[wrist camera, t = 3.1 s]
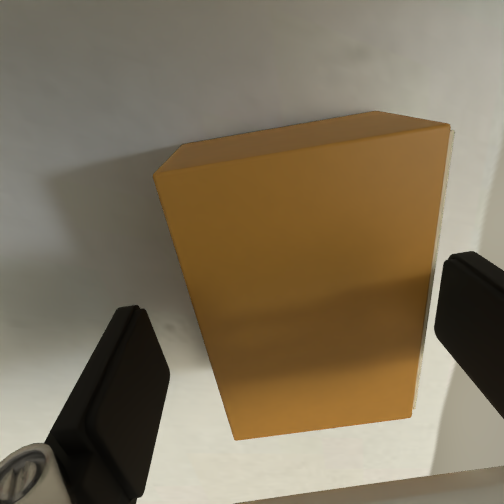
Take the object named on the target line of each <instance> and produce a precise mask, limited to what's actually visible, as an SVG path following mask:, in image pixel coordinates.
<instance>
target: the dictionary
mask: <svg viewBox="0 0 504 504" xmlns="http://www.w3.org/2000/svg"><path fill="white" fill-rule="evenodd" d="M450 128H451V127H450V124H447V123H442V122H437V121H431V120H425V119H420V118H414V117H408V116H403V115H397V114H391V113H386V112H380V111H372V112H367V113H361V114H355V115H349V116H343V117H338V118H332V119H326V120H320V121H314V122H309V123H303V124H297V125H291V126H285V127H280V128H274V129H268V130H262V131H256V132H251V133H245V134H239V135H233V136H227V137H222V138H216V139H210V140H204V141H199V142H193V143H187V144H183V145H181V146H180V147H179V148H178V149H177V150H176V151H175V152H174V153H173V154H172V155H171V156H170V157H169V158H168V160H167V161H166V162H165V163H164V164H163V165H162V166H161V167H160V168H159V169H158V170H157V171H156V172H155V173H154V174H153V180H154V183H155V186H156V189H157V192H158V196H159V199H160V202H161V205H162V209H163V212H164V215H165V218H166V221H167V225H168V228H169V231H170V234H171V237H172V241H173V244H174V247H175V250H176V254H177V257H178V260H179V263H180V266H181V270H182V273H183V276H184V279H185V282H186V286H187V289H188V292H189V295H190V299H191V302H192V305H193V308H194V311H195V315H196V318H197V321H198V324H199V328H200V331H201V334H202V337H203V340H204V344H205V347H206V350H207V353H208V356H209V360H210V363H211V366H212V369H213V373H214V376H215V379H216V382H217V385H218V389H219V392H220V395H221V398H222V402H223V405H224V408H225V411H226V414H227V418H228V421H229V424H230V427H231V430H232V434H233V437H234V440H236V441H237V440H245V439H252V438H260V437H268V436H275V435H283V434H291V433H298V432H306V431H314V430H321V429H329V428H337V427H344V426H352V425H360V424H367V423H375V422H382V421H390V420H398V419H405V418H410V417H411V416H412V409H415V407H416V400H417V393H418V386H419V379H420V372H421V365H422V358H423V351H424V344H425V337H426V330H427V322H428V315H429V308H430V301H431V294H432V287H433V280H434V273H435V266H436V259H437V252H438V245H439V238H440V231H441V224H442V217H443V210H444V203H445V196H446V189H447V182H448V175H449V168H450V161H451V154H452V147H453V140H454V133H455V132H454V130H450Z"/></svg>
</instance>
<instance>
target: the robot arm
mask: <svg viewBox="0 0 504 504" xmlns="http://www.w3.org/2000/svg"><path fill="white" fill-rule="evenodd" d="M434 330H435V334H436V336H437V338H438V340H439V341H440V342H441V343H442V344H443V346H444V347H445V348H446V349H447V351H448V352H449V353H450V354H451V355H452V357H453V358H454V359H455V360H456V362H457V363H458V364H459V365H460V366H461V368H462V369H463V370H464V371H465V372H466V374H467V375H468V376H469V377H470V378H471V380H472V381H473V382H474V383H475V385H476V386H477V387H478V388H479V389H480V391H481V392H482V393H483V394H484V396H485V397H486V398H487V399H488V400H489V402H490V403H491V404H492V405H493V406H494V408H495V409H496V410H497V411H498V413H499V414H500V415H501V416H502V417H503V419H504V271H503V270H502V269H500V268H498V267H497V266H496V265H494V264H493V263H491V262H490V261H488V260H487V259H485V258H483V257H482V256H480V255H479V254H477V253H476V252H474V251H469V252H463V253H457V254H452V255H450V257H449V258H448V260H446V261H445V262H444V264H443V271H442V277H441V284H440V291H439V298H438V305H437V312H436V318H435V325H434ZM169 380H170V371H169V367H168V365H167V362H166V360H165V357H164V355H163V352H162V349H161V347H160V344H159V342H158V339H157V337H156V334H155V332H154V329H153V327H152V324H151V322H150V319H149V317H148V314H147V312H146V310H145V309H140V307H139V306H138V305H132V306H126V307H120V308H118V309H117V310H116V311H115V313H114V315H113V317H112V319H111V321H110V322H109V324H108V326H107V328H106V330H105V332H104V333H103V335H102V337H101V339H100V341H99V343H98V344H97V346H96V348H95V350H94V352H93V354H92V355H91V357H90V359H89V361H88V363H87V365H86V366H85V368H84V370H83V372H82V374H81V376H80V377H79V379H78V381H77V383H76V385H75V387H74V389H73V390H72V392H71V394H70V396H69V398H68V400H67V401H66V403H65V405H64V407H63V409H62V411H61V412H60V414H59V416H58V418H57V420H56V422H55V423H54V425H53V427H52V429H51V431H50V433H49V435H48V437H47V439H46V441H45V442H44V443H33V444H30V445H27V446H24V447H22V448H20V449H18V450H16V451H15V452H13V453H11V454H10V455H9V456H7V457H6V458H5V459H3V460H2V461H1V462H0V504H136V501H137V498H139V497H141V496H142V495H143V493H144V490H145V486H146V482H147V477H148V473H149V468H150V464H151V460H152V455H153V451H154V446H155V442H156V438H157V433H158V429H159V424H160V420H161V416H162V411H163V407H164V402H165V398H166V394H167V389H168V385H169ZM235 504H504V466H498V467H491V468H484V469H476V470H469V471H461V472H454V473H447V474H439V475H432V476H425V477H417V478H410V479H403V480H396V481H389V482H382V483H374V484H367V485H360V486H353V487H346V488H339V489H332V490H325V491H318V492H311V493H303V494H296V495H290V496H283V497H276V498H269V499H262V500H255V501H248V502H242V503H235Z"/></svg>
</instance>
